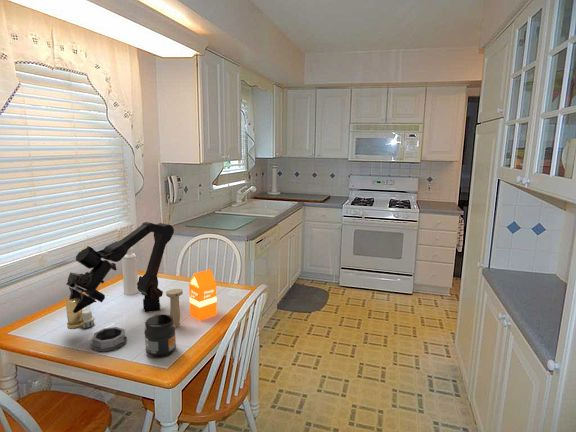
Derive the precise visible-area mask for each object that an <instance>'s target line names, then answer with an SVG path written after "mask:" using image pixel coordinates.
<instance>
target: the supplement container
mask: <svg viewBox="0 0 576 432" xmlns="http://www.w3.org/2000/svg"><path fill="white" fill-rule="evenodd" d="M144 323H145V325H144V326H145V328H144V333H143V334H144V343H145V344H144V345H145V349H144V350H145V353H146V355H147V356H148V357H151V358H155V359H159V358H161V359H162V358H165V357H168V356H170V355H171V354H173V353H174V352H175V351H176V348H177V339H176V338H177V337H176V328H177V327H175V325H174V318H173V317H172V316H170V314H163V313H162V314H157V315H153V316H150V317H148V318H147V319H146V320H145V322H144Z"/></svg>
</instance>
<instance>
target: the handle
mask: <svg viewBox="0 0 576 432" xmlns="http://www.w3.org/2000/svg"><path fill="white" fill-rule="evenodd" d="M183 294H184V293H183V289H181V288H173V289H169V290H167V291H166V292H165V295H166V297H168V298H170V302H169V303H170V305H169V306H170V307H169V315H170V316H172V317H173V318H174V325H175V327H176V328H178V327H180V325H181V305H180V296H182V295H183Z"/></svg>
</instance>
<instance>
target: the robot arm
mask: <svg viewBox="0 0 576 432" xmlns="http://www.w3.org/2000/svg"><path fill="white" fill-rule="evenodd" d="M174 232H175V229H174V227H173V225H171V224H169V223H168V224H167V223H163V222H158V223H156V224H155V223H153V222H148V221H145V222H142V223H141V225H140V226H138V227H137V228H135V229H134V230H133V231H132V232H130V233H129V234H127V235H126V236H125V237H123V238H121V239H120V240H118V241H115V242H112V243H110V244H108V245H106V246H105V247H104V248H103V249H101V250H97V251H96V250H95V249H94V248H93V247H91V246H88V245H87V246H86V247H85V248H82V250H80V251H79V252H78V253H77V254H76V257H75V261H76V262H77V263H79V264H81V265H82V266H84V267H85V268H87V269H91V270H89V272H88V271H86V272H85V273H75V272H69V274H68V278H67V280H66V281H67V282H66V283H65V285H66V286H68V288H69V291H70V295H69V299H68V300H70V299H74V298H80V300H79V302H78V304H77V305H76V307H75V309H74V310H73V312H74V313H77V312H78V311H80V310H81V309H83V308H85V307H86V306H88V305H89V306H90V305H92V304H93V303H97V302H100V303H103V301H104V300H105V298H106V296H105V294H104V293H102V292H101V291H99V290H97V289H98V287H99V286H100V285H101V284H102V285H103V284H104V283H105V281H104V279H105V278H106V277H107V275H108V274H109V272H110V271H111V270H112V271H115V272H116V271H117V266H116V265H117V264H116V263H118V262H120V261H122V258H123V257H124V256H125V255H126V254H127V252H128V250H129V249H130V248H131V247H134V245H136V244H138V243H139V242H140V241H142V240H143V239H144V238H145V237H146V236H148V235H149V234H150V233H153V239H154V244H153V247H152V251H151V254H150V258H149V259H148V260H149V261H148V263H147V267H146V271H145V273H144V275H142V276H141V275H140V276H138V283H137V285H138V286H137V289H138V293H140V294H141V296H144V298H143V299H142V303H143V305H142V307H143V310H144V312H145V313H148V312H157V311H161V303H160V298H161V297H163V295H164V294H163V293H164V291H162V290H161V289H160V288H159V280H158V279H159V278H158V274H159V270H160V266H161V263H162V259H163V256H164V254H165V249H166V247H167V244H168V243H169V242H170V241H171V239H172V238H173V236H174ZM109 261H111V262H109Z"/></svg>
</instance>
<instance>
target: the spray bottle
mask: <svg viewBox="0 0 576 432" xmlns="http://www.w3.org/2000/svg"><path fill="white" fill-rule="evenodd" d="M133 248H134V246H132V247H131V248H130V249H129V250H128V252H127V254H126V255H125V256H124V257H123V258H122V259H121V267H122V282H123V284H122V285H123V293H124V295H129V296H130V295H136V294H138V293H139V291H138V289H137V286H138V285H137V283H138V281H139V276H138V262H137V254H135V253H133V250H134V249H133Z"/></svg>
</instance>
